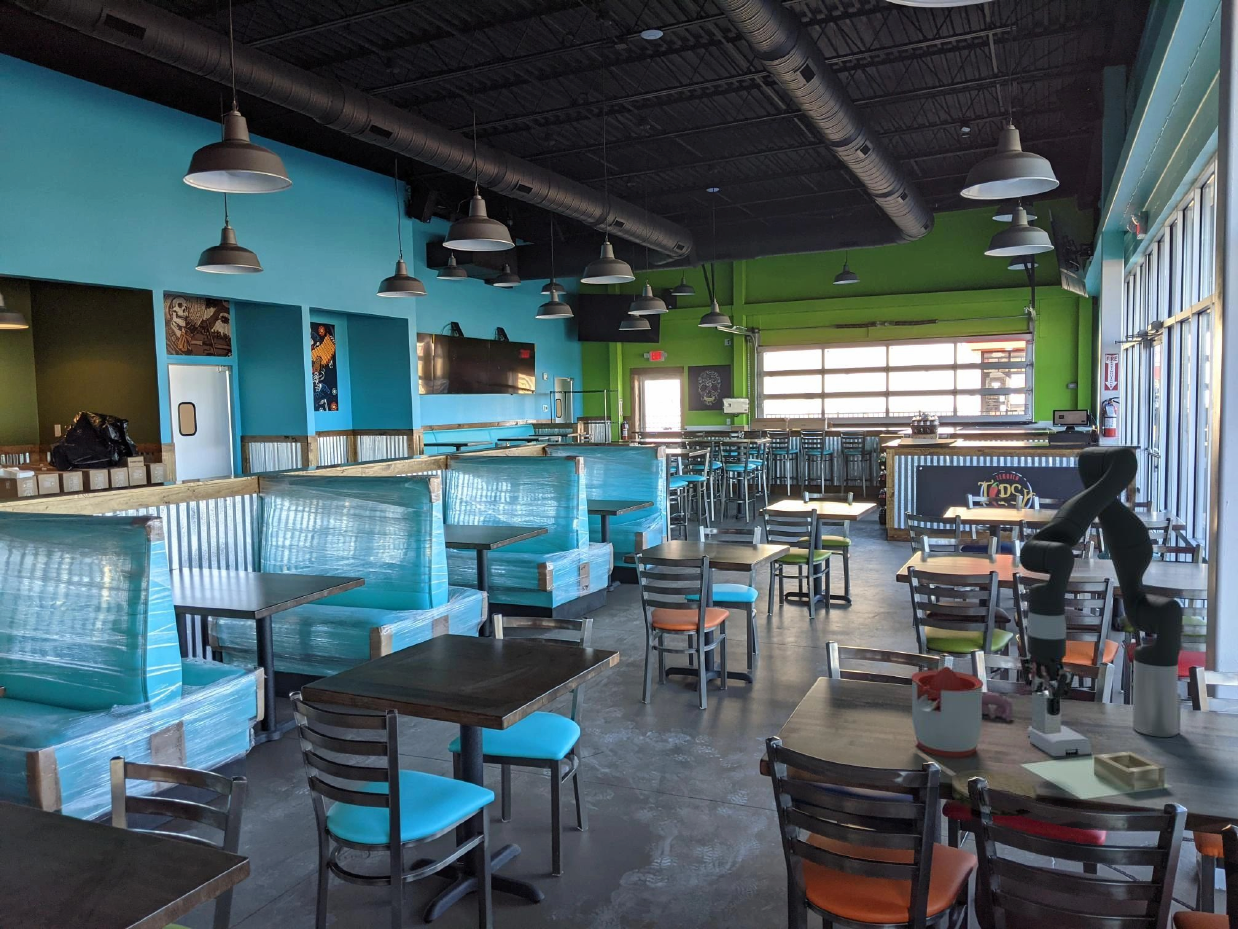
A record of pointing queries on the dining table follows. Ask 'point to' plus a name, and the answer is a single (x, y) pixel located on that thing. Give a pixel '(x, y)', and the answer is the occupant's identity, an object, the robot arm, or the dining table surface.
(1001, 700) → the video game controller
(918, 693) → the citrus juicer
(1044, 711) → the peg
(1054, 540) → the robot arm
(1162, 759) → the dining table surface
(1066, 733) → the charger
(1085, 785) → the board
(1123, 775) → the shallow wooden crate
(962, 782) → the olive brown round disc
